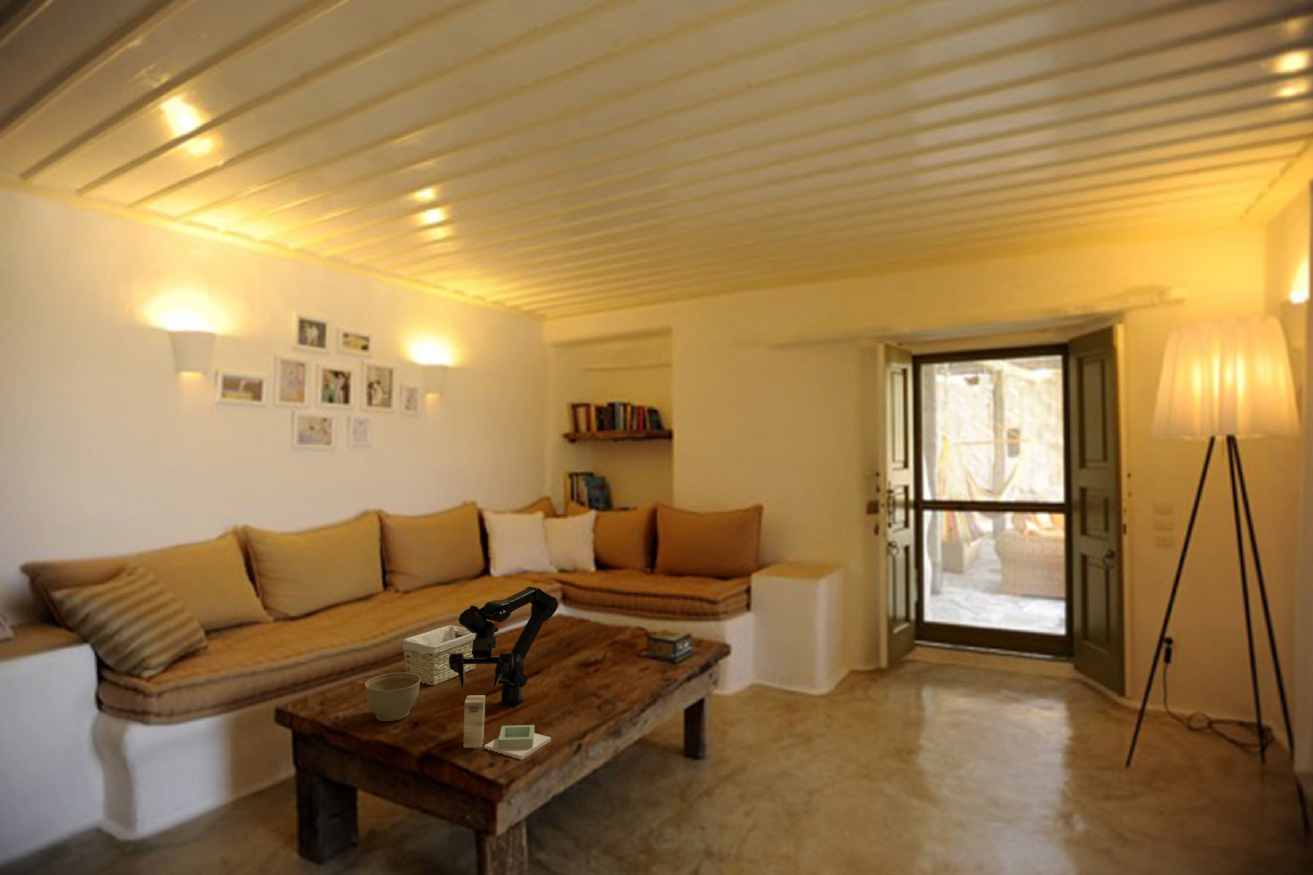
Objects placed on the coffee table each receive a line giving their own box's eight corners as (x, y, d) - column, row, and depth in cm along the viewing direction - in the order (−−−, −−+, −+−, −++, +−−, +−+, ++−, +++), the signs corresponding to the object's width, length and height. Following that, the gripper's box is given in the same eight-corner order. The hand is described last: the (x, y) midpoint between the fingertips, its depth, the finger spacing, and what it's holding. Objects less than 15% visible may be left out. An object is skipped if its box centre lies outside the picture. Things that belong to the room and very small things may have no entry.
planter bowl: (402, 701, 222) (403, 668, 222) (429, 715, 212) (430, 680, 212) (354, 716, 210) (355, 680, 210) (380, 731, 199) (382, 694, 200)
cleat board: (513, 730, 202) (513, 719, 202) (550, 740, 196) (551, 728, 196) (482, 748, 190) (483, 736, 190) (521, 759, 184) (521, 746, 184)
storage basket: (432, 688, 235) (433, 645, 235) (399, 679, 243) (400, 638, 243) (480, 669, 256) (481, 630, 257) (448, 661, 264) (449, 623, 264)
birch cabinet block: (465, 740, 194) (467, 695, 195) (483, 740, 195) (485, 695, 195) (462, 749, 189) (464, 703, 189) (481, 749, 189) (482, 702, 190)
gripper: (450, 626, 204) (443, 675, 193) (513, 626, 207) (509, 674, 195) (454, 645, 212) (447, 693, 201) (515, 644, 214) (511, 692, 203)
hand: (478, 687), depth 200 cm, fingers open, 9 cm apart
